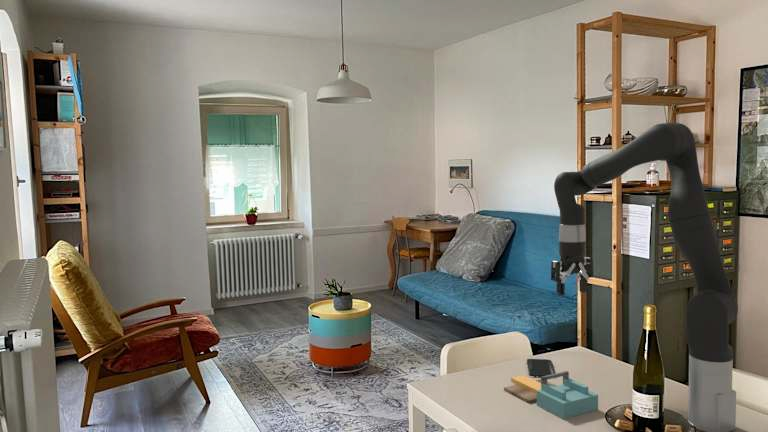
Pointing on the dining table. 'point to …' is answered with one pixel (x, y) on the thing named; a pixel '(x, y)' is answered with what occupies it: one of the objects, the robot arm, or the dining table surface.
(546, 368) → the phone
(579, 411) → the ticket dispenser
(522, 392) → the walnut mat
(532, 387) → the ticket card
